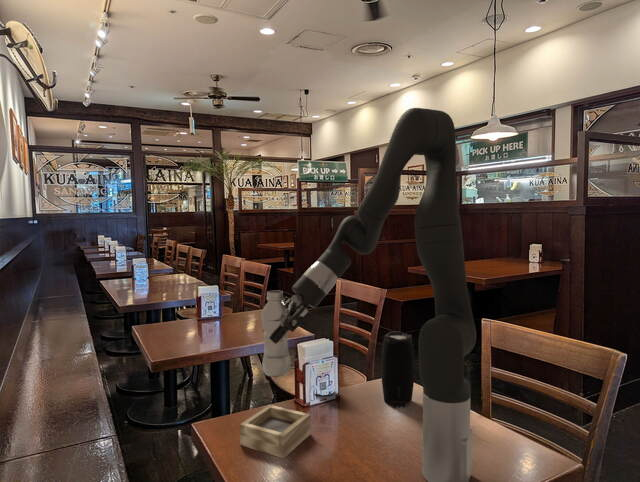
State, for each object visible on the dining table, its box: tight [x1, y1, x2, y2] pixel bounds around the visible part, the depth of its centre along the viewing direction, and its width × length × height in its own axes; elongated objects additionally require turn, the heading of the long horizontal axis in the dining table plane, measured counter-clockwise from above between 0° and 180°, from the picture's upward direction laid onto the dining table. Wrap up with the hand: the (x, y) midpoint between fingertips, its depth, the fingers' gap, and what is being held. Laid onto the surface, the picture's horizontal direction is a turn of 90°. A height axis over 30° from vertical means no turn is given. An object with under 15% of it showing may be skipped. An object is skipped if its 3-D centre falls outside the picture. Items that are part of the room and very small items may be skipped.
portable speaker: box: [381, 330, 415, 408], centre depth 124 cm, size 9×9×20 cm
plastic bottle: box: [260, 290, 291, 378], centre depth 102 cm, size 6×7×20 cm
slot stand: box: [239, 404, 311, 459], centre depth 104 cm, size 12×12×5 cm
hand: (268, 337), depth 102 cm, fingers closed on plastic bottle, 6 cm apart
